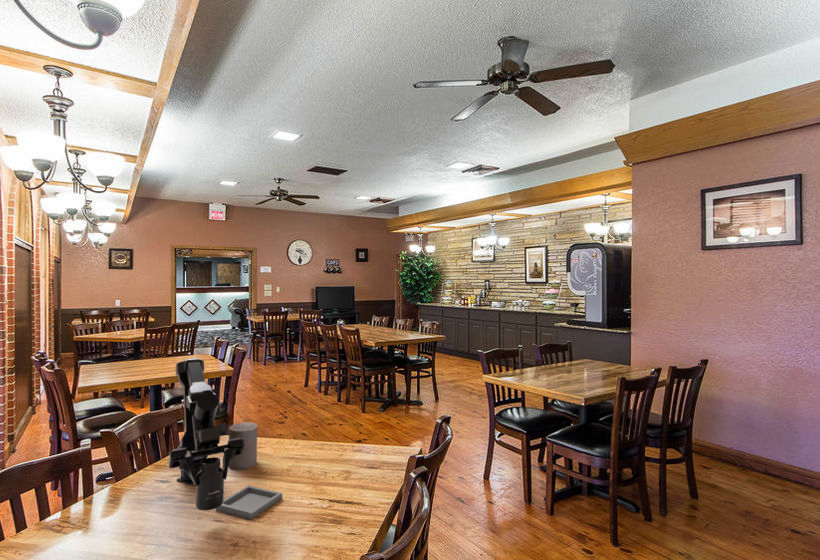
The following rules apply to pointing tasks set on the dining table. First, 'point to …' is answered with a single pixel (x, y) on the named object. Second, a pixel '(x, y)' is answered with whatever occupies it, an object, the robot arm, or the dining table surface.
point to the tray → (249, 502)
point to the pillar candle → (250, 449)
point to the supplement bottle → (210, 484)
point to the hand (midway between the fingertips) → (211, 482)
